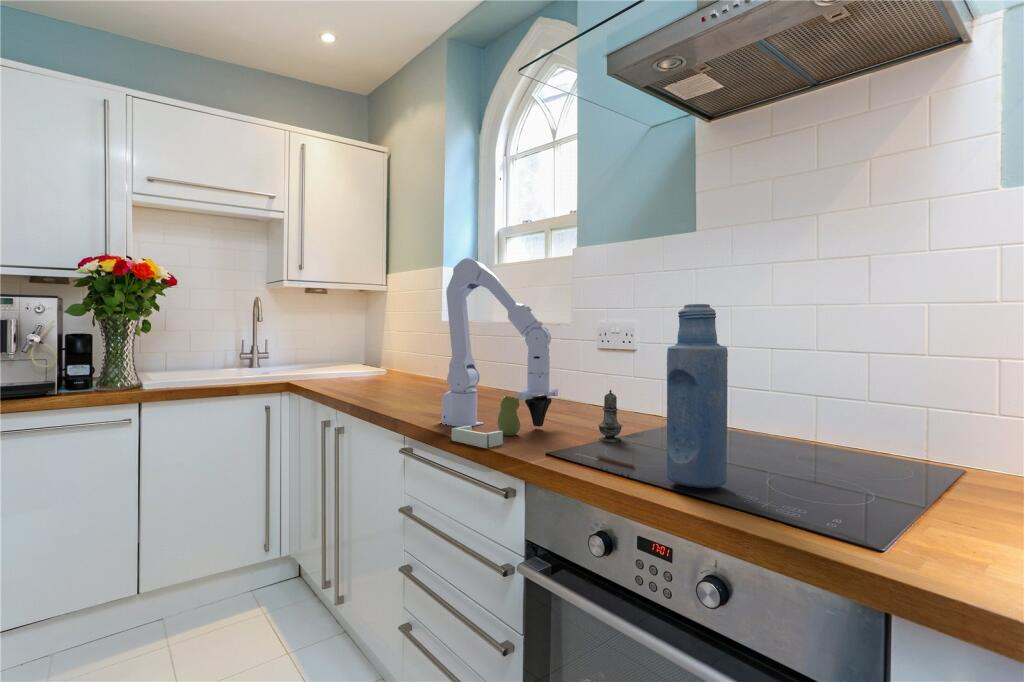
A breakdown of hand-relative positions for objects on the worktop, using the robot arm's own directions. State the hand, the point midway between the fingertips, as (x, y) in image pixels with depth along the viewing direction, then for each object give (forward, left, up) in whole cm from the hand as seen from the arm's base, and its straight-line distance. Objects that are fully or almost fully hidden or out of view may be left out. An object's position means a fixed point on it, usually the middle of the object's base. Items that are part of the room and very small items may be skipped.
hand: (538, 425), depth 138 cm
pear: (0, -11, -2) cm, 11 cm away
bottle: (+50, -20, -2) cm, 54 cm away
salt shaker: (+20, +2, -2) cm, 20 cm away
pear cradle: (0, -20, -1) cm, 20 cm away
